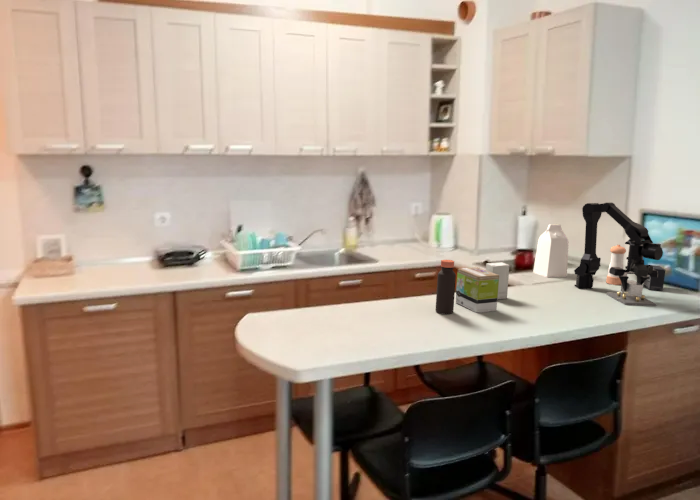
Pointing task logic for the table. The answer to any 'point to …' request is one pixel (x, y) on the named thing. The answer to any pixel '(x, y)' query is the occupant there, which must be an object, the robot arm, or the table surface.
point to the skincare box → (500, 277)
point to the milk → (552, 253)
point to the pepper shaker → (615, 264)
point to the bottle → (445, 288)
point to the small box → (656, 280)
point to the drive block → (633, 288)
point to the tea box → (477, 289)
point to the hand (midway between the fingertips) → (631, 291)
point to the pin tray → (631, 299)
